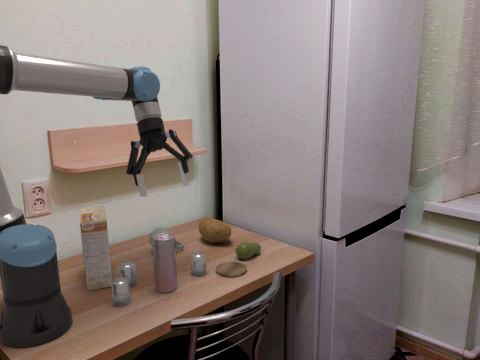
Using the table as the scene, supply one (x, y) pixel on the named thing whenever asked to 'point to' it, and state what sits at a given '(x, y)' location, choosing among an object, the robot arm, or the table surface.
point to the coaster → (231, 269)
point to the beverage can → (164, 262)
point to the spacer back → (128, 272)
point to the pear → (247, 250)
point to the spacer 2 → (198, 263)
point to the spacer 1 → (120, 291)
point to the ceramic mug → (163, 230)
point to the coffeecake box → (95, 247)
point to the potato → (214, 230)
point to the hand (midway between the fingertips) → (164, 190)
